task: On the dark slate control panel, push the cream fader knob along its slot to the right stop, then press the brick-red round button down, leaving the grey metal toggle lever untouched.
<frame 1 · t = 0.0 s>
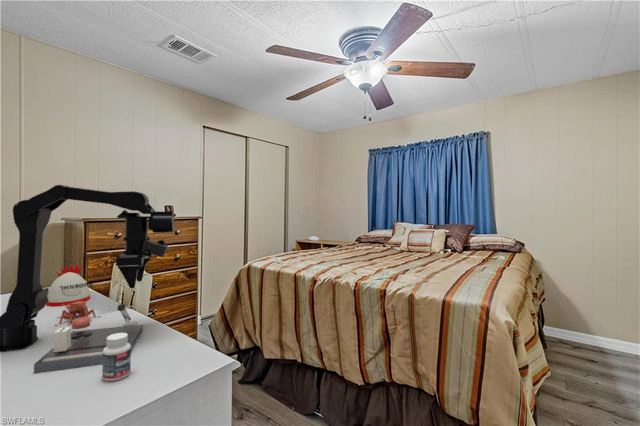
hand: (136, 284, 93), 15 cm above the table, fingers open, 9 cm apart
kitchen timer: (68, 301, 124), on the table
toggle: (123, 310, 89), point 8 cm above the table, hinge at -25.0°
button: (81, 322, 86), point 5 cm above the table, slide at 0.0 cm
fader: (62, 339, 76), point 5 cm above the table, slide at 0.0 cm
robot toy: (76, 319, 105), on the table
pill bottle: (116, 376, 69), on the table
panel: (96, 348, 82), on the table
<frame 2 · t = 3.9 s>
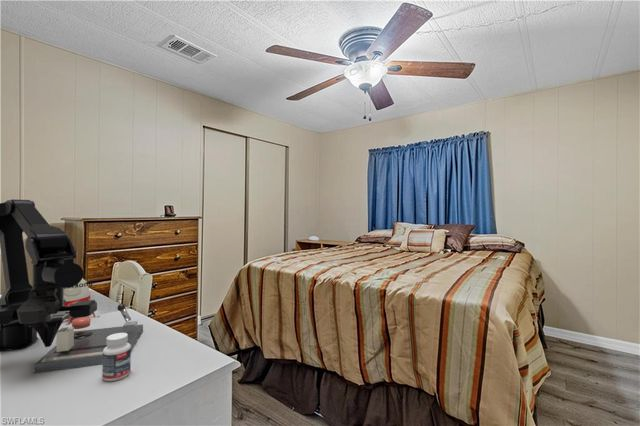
hand: (48, 346, 75), 4 cm above the table, fingers closed
fader: (65, 338, 76), point 5 cm above the table, slide at 0.6 cm, touching gripper
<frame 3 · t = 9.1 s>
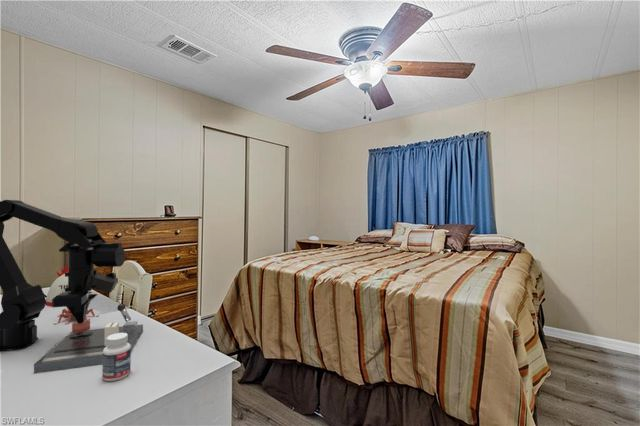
hand: (80, 322, 86), 6 cm above the table, fingers closed, pressing on button
button: (81, 326, 86), point 5 cm above the table, slide at 1.0 cm, touching gripper
fader: (111, 333, 80), point 5 cm above the table, slide at 10.5 cm
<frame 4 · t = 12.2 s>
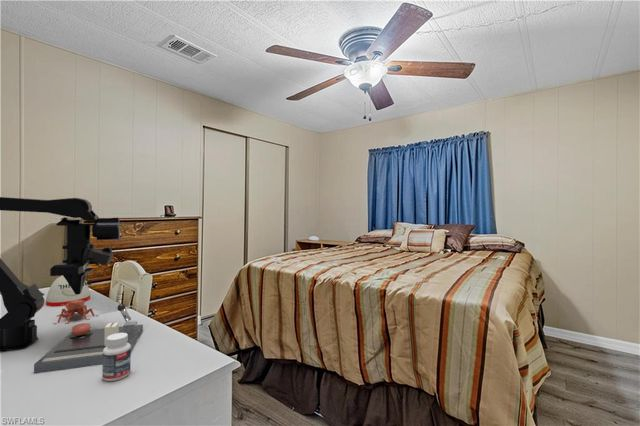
hand: (78, 294, 90), 12 cm above the table, fingers closed
button: (81, 329, 86), point 4 cm above the table, slide at 1.8 cm
at the end: fader slide at 10.5 cm; button slide at 1.8 cm; toggle at -25° (first picture: -25°) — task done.
